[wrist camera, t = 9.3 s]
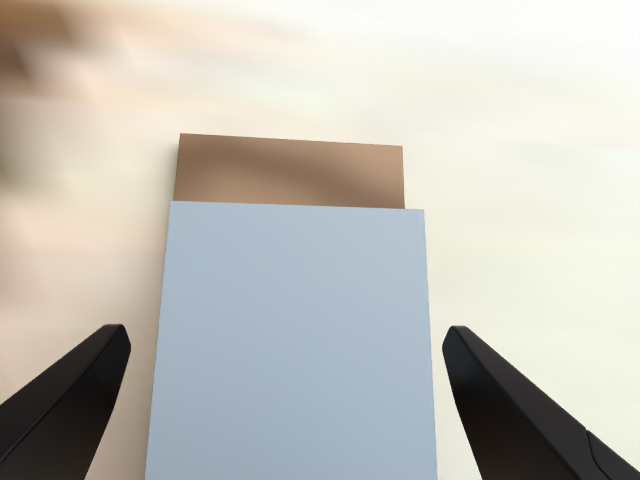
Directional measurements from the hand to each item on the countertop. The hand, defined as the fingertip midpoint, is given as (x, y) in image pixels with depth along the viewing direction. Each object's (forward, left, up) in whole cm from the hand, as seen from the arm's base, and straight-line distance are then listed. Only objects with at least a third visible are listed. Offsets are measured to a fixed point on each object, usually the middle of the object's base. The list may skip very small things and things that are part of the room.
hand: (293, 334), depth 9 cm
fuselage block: (0, 0, -9) cm, 9 cm away
